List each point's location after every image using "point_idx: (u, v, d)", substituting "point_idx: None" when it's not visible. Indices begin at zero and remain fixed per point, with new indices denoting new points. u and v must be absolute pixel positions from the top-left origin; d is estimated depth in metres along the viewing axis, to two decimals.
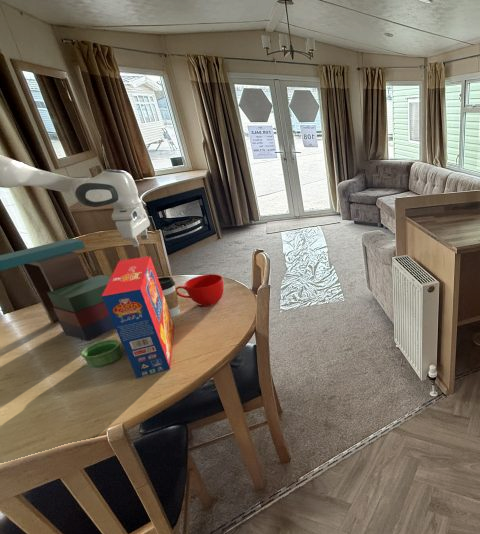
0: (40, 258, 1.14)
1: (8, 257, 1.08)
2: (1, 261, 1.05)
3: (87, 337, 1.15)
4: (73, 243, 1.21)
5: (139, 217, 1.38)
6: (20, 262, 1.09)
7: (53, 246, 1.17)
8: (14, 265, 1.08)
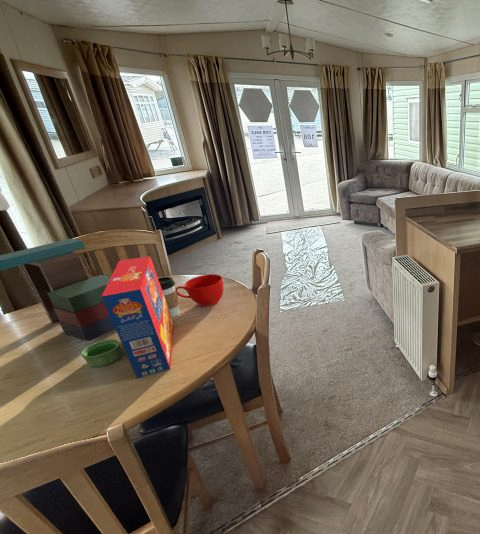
0: (40, 258, 1.14)
1: (8, 257, 1.08)
2: (1, 261, 1.05)
3: (87, 337, 1.15)
4: (73, 243, 1.21)
5: None
6: (20, 262, 1.09)
7: (53, 246, 1.17)
8: (14, 265, 1.08)
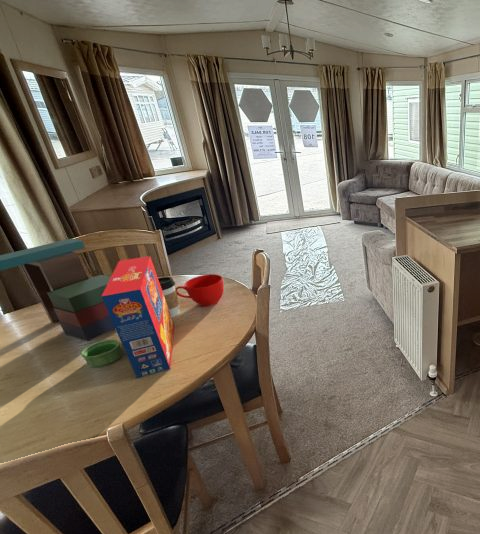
0: (40, 258, 1.14)
1: (8, 257, 1.08)
2: (1, 261, 1.05)
3: (87, 337, 1.15)
4: (73, 243, 1.21)
5: None
6: (20, 262, 1.09)
7: (53, 246, 1.17)
8: (14, 265, 1.08)
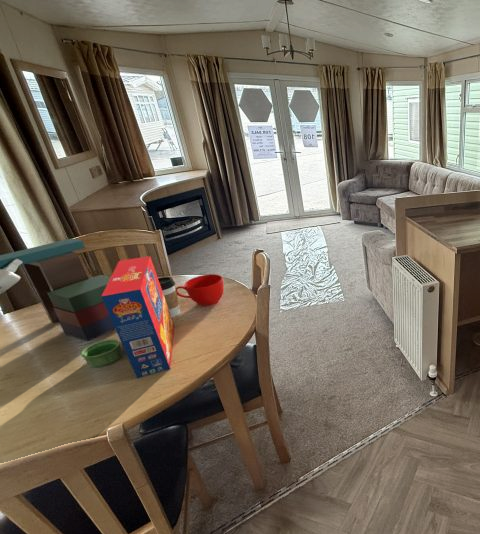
0: (40, 258, 1.14)
1: (8, 257, 1.08)
2: (1, 261, 1.05)
3: (87, 337, 1.15)
4: (73, 243, 1.21)
5: None
6: None
7: (53, 246, 1.17)
8: None
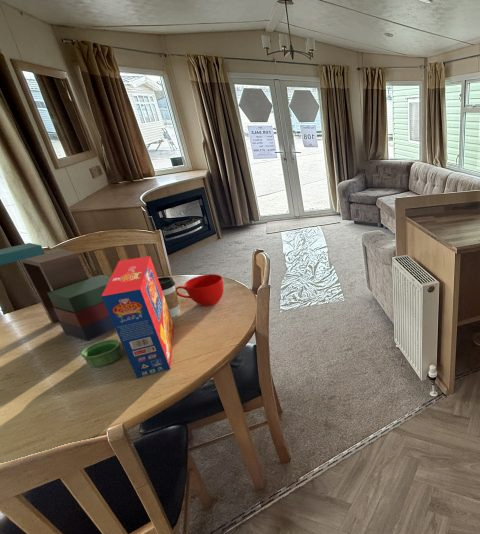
0: None
1: None
2: None
3: (87, 337, 1.15)
4: (30, 248, 1.05)
5: None
6: None
7: (5, 252, 1.01)
8: None
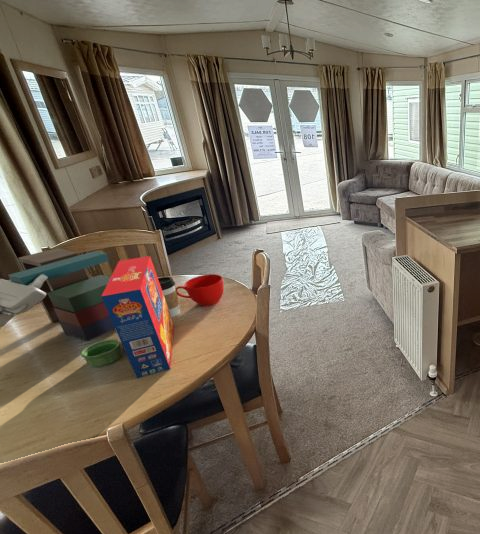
0: (65, 273, 1.10)
1: (33, 272, 1.04)
2: (26, 277, 1.01)
3: (87, 337, 1.15)
4: (97, 256, 1.17)
5: None
6: None
7: (78, 260, 1.13)
8: None
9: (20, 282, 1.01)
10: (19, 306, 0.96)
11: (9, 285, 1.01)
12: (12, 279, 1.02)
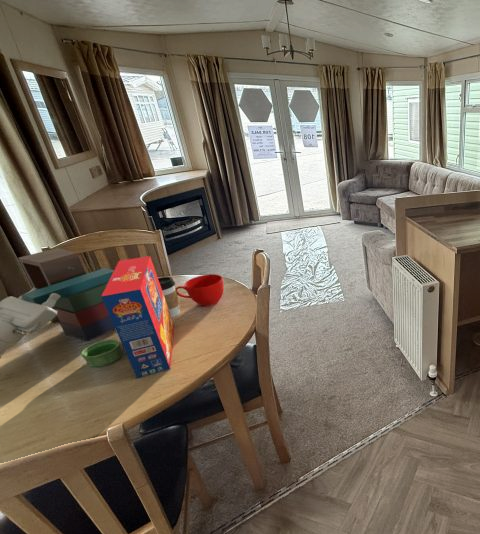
0: (75, 291, 1.13)
1: (45, 292, 1.07)
2: (39, 297, 1.05)
3: (87, 337, 1.15)
4: (106, 274, 1.20)
5: None
6: None
7: (87, 278, 1.16)
8: None
9: (33, 302, 1.04)
10: (31, 325, 0.99)
11: (21, 303, 1.04)
12: (25, 299, 1.05)
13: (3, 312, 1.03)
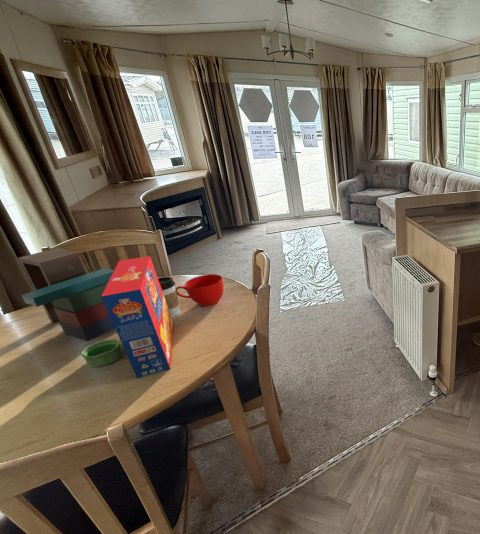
0: (75, 291, 1.13)
1: (45, 292, 1.07)
2: (39, 297, 1.05)
3: (87, 337, 1.15)
4: (106, 274, 1.20)
5: None
6: (57, 296, 1.09)
7: (87, 278, 1.16)
8: (51, 300, 1.07)
9: (33, 302, 1.04)
10: None
11: None
12: (25, 299, 1.05)
13: None
